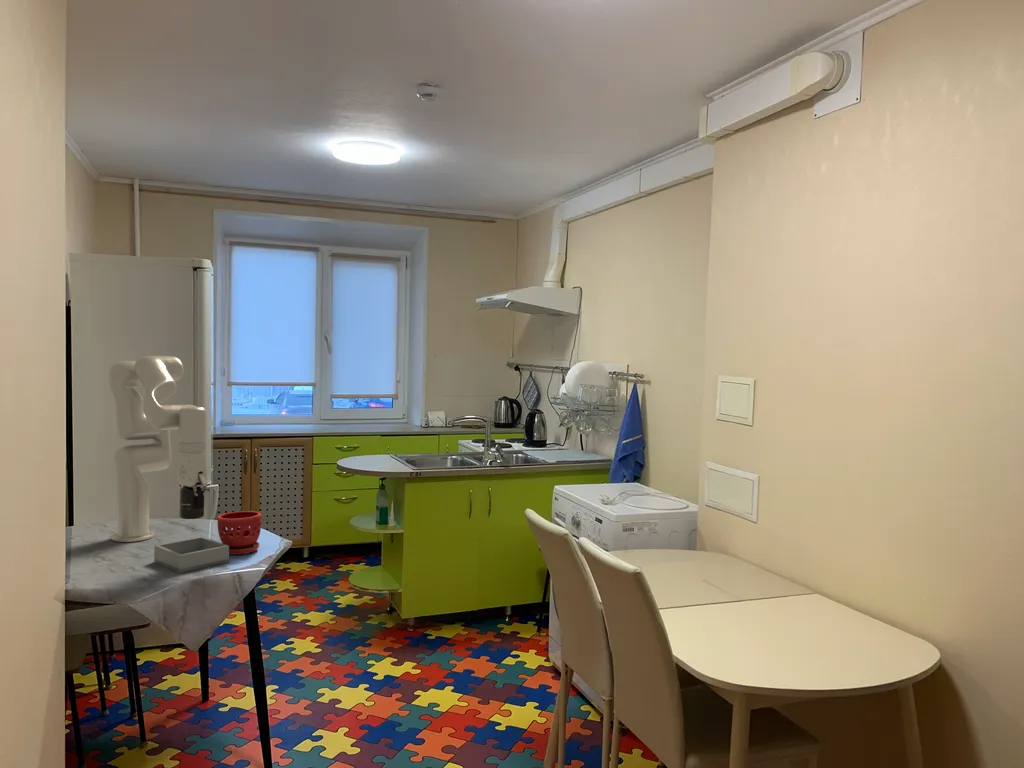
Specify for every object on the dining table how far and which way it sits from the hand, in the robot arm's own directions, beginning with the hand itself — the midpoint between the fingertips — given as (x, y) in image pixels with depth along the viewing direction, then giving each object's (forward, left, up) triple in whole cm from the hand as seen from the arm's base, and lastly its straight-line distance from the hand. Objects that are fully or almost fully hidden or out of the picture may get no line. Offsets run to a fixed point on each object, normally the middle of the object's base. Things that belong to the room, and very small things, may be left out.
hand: (192, 506), depth 212 cm
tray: (0, 0, -17) cm, 17 cm away
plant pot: (-1, +16, -17) cm, 24 cm away
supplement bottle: (0, 0, -4) cm, 4 cm away
